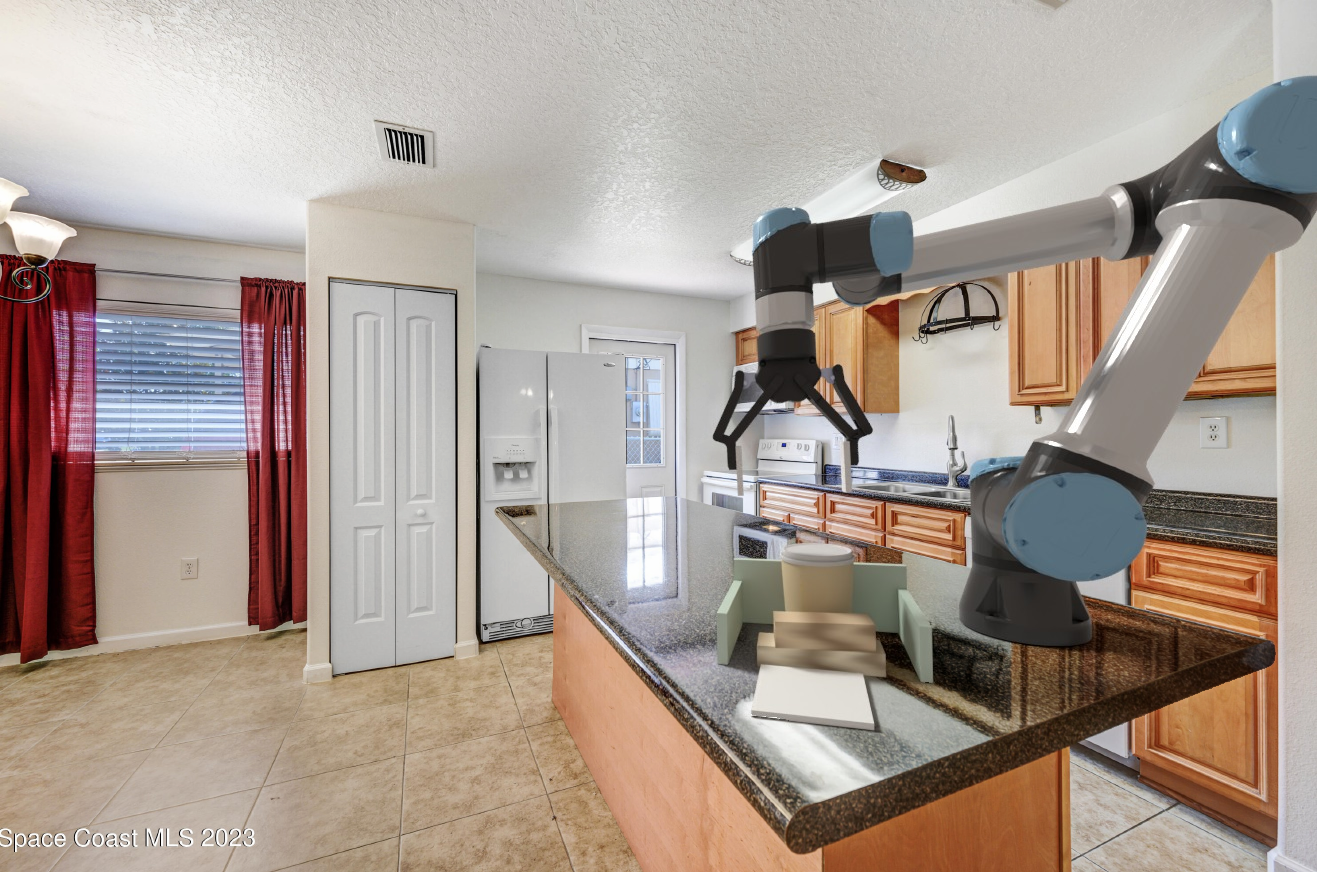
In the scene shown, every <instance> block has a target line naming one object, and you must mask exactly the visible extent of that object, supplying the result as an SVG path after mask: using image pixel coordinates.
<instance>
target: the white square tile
mask: <svg viewBox="0 0 1317 872" xmlns="http://www.w3.org/2000/svg"><path fill="white" fill-rule="evenodd" d="M865 681H866V680H865V675H863V673H853V672H842V671H831V670H819V669H808V668H797V667H785V666H774V665H763V664H761V667H759V672H758V675H757V681H756V684H755V685H756V686H755V691H754V695H753V700H752V704H751V710H750V715H751V714H752V715H756V716H766V717H777V718H780V719H786V720H785V721H788V720H789V722H799V723H805V724H817V725H825V726H833V727H840V728H841V727H842V728H852V729H860V730H866V731H867V730H869V731H875V722H874V716H873V713H872V709H871V704H870V698H869V695H868V690H867V686H866V682H865Z"/></svg>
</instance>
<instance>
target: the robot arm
mask: <svg viewBox="0 0 1317 872" xmlns="http://www.w3.org/2000/svg"><path fill="white" fill-rule="evenodd" d="M1316 213H1317V75H1303V76H1295V77H1291V78H1286V79H1283V80H1280V81H1278V82H1274V83H1272V84H1270V85H1266V86H1265V87H1263V88H1261V89H1259V90H1258V91H1256V92H1254V93H1253V94H1252V95H1251V96H1249V97H1248V98H1246V99H1244V100H1243V101H1240V102H1239V103H1237V104H1236V105H1234V106H1233V107H1232V108H1231V109H1229V110H1228V112H1226V114H1225V115H1224V116H1223V117H1222V119H1221V120H1219V122H1217V123H1216V124H1214V126H1213V127H1211V128H1210V129H1209V130H1208V131H1206V132H1205V133H1204V134H1203V135H1202V136H1200V137H1199V138H1198V139H1197V140H1195V141H1194V142H1193V143H1192V144H1190V145H1189V146H1188V147H1186V149H1185V150H1183V151H1182V152H1181V153H1179V154H1178V155H1177V156H1176V157H1175V158H1174V159H1172V160H1171V161H1170V162H1168V163H1166V164H1165V165H1162V166H1161V167H1159V168H1158V169H1156V170H1153V171H1152V172H1149V173H1148V174H1146V175H1144V176H1141V177H1138V178H1136V179H1133V180H1129V181H1127V182H1126V181H1125V182H1121V183H1117V184H1113V185H1109V186H1108V187H1107V188H1106V189H1105V190H1103V192H1102V193H1100V195H1098V196H1095V197H1092V198H1086V199H1082V200H1078V201H1071V202H1068V203H1064V204H1058V205H1054V206H1050V207H1044V208H1040V209H1035V210H1032V211H1026V212H1021V213H1018V214H1017V213H1016V214H1012V215H1008V216H1003V217H998V218H995V219H994V218H993V219H991V220H985V221H980V222H977V223H972V224H967V225H963V226H958V227H953V228H949V229H948V228H947V229H944V230H940V231H934V232H929V233H924V234H921V235H917V236H914V225H913V219H912V216H911V215H910V213H908V212H907V211H904V210H896V211H895V210H894V211H885V212H882V211H877V212H874V213H872V214H865V215H859V216H854V217H848V218H847V217H846V218H841V219H837V220H836V219H835V220H829V221H826V222H819V223H817V222H812V221H811V218H810V214H809V213H808V211H807V210H806V209H803V208H801V207H797V206H793V207H786V206H785V207H784V206H782V207H777V208H776V207H775V208H774V209H770V210H768V211H765V212H764V213H761V214H760V215H759V216H758V217H757V219H755V221H754V224H753V226H752V250H751V256H752V269H753V282H754V300H755V301H754V304H755V305H754V308H755V327H756V328H755V330H756V331H757V332H758V333H760V334H759V335H758V336H757V338H756V346H757V347H756V348H757V349H756V353H757V370H756V372H749V371H748V372H745V371H743V370H740V369H738V370H737V371H736V372H735V374H734V383H733V384H734V386H733V389H732V392H731V394H730V396H729V398H728V400H727V402H726V405H725V407H724V409H723V412H722V414H721V415H720V418H719V421H718V422H717V425H716V427H715V429H714V432H713V434H712V440H714V441H715V442H716V443H717V442H718V443H720V444H723V445H725V447H726V459H727V460H726V462H727V467H728V471H736V483H737V484H736V485H737V496H738V497H741V496H742V497H743V496H744V475H743V472H744V471H743V454H742V445H737V442H738V441H739V440H740V438H741V437H742V436H743V434H744V433H745V431H746V430H747V429H748V428H749V427H750V425H751V424H752V422H753V421H754V420H755V419H756V417H757V416H758V415H759V413H760V412H761V411H762V410H763V408H765V406H766V405H767V404H768V402H769V401H771V402H773V403H776V404H784V403H787V402H789V403H796V404H797V403H801V402H804V401H805V400H807V401H808V402H809V403H810V404H811V405H813V406H814V407H815V408H816V409H817V411H819V412H820V414H822V416H824V418H825V419H826V420H827V421H828V422H829V423H830V424H831V425H832V426H833V427H834V428H835V429H836V430H837V431H838V432H839V433H840V434H841V435H842V436H843V437H844V438H845V441H843V440H842V441H839V453H840V454H839V455H840V457H839V459H840V476H841V491H842V492H843V493H846V494H847V493H848V494H850V493H851V494H852V493H853V483H852V466H854V467H855V466H858V465H859V462H860V457H859V455H860V453H859V441H860V439H861V438H863V437H867V436H870V435H872V434H873V432H874V429H873V427H872V424H870V421H869V419H868V418H867V416H866V415H865V413H864V411H863V410H862V408H861V406H860V404H859V402H858V401H857V399H856V397H855V396H854V394H853V392H852V391H851V389H850V387H849V386H848V384H847V382H846V379H845V374H844V368H843V366H842V364H839V363H837V364H835V365H833V366H830V367H824V368H823V367H822V368H820V367H819V365H818V362H817V344H816V343H817V342H816V340H817V339H816V333H815V332H814V330H812V329H813V328H814V326H815V325H816V323H815V322H816V321H815V318H816V317H815V305H814V304H815V302H814V290H813V289H814V285H815V284H826V283H827V284H828V283H831V284H832V288H833V290H834V293H835V295H836V296H837V298H838V299H839V301H840V302H842V303H843V304H845V305H847V306H849V307H854V308H861V307H866V306H868V305H871V304H872V303H874V302H876V301H877V300H878V299H880V298H886V297H890V296H891V297H892V296H895V295H899V294H905V293H911V292H916V291H921V290H927V289H931V288H937V287H943V286H948V285H952V284H958V283H964V282H970V281H973V280H980V279H985V278H990V277H996V276H1001V275H1007V274H1011V273H1017V272H1021V271H1028V270H1034V269H1039V268H1043V267H1049V266H1055V265H1060V264H1064V263H1071V262H1077V261H1081V260H1082V261H1083V260H1087V259H1093V258H1098V257H1102V258H1103V260H1104V259H1105V260H1106V261H1107V262H1111V263H1112V262H1113V263H1115V262H1119V261H1124V260H1125V261H1126V260H1130V259H1135V258H1142V257H1149V256H1152V258H1151V259H1150V262H1149V264H1148V265H1147V267H1146V269H1145V271H1144V272H1143V275H1142V276H1141V278H1140V280H1139V281H1138V283H1137V284H1136V286H1135V288H1134V290H1133V292H1132V294H1131V296H1130V298H1129V300H1128V302H1127V303H1126V305H1125V307H1124V308H1123V310H1122V312H1121V313H1120V314H1121V315H1119V317H1118V319H1117V321H1116V323H1115V325H1114V326H1113V328H1112V330H1111V332H1110V334H1109V335H1108V337H1107V339H1106V341H1105V343H1104V345H1103V346H1102V348H1101V350H1100V351H1099V353H1098V355H1097V356H1096V359H1095V360H1094V362H1093V365H1092V366H1091V368H1090V369H1089V371H1088V372H1087V374H1086V377H1085V379H1084V380H1083V382H1082V384H1081V385H1080V387H1079V388H1078V389H1079V390H1078V391H1077V393H1076V395H1075V396H1074V398H1073V400H1072V402H1071V403H1070V405H1069V407H1068V409H1067V411H1066V413H1065V414H1064V416H1063V418H1062V420H1061V421H1060V423H1059V425H1058V427H1057V429H1056V430H1055V431H1054V432H1053V433H1051V434H1048V435H1045V436H1040V437H1037V438H1035V439H1033V440H1032V443H1031V445H1030V446H1029V448H1028V450H1027V451H1026V454H1025V455H1024V456H1023V455H1021V456H1020V455H1017V456H1001V457H989V458H982V459H979V460H977V461H975V462H973V463H972V465H971V466H970V472H969V473H970V474H969V479H968V483H967V484H968V486H969V496H970V497H969V498H970V527H971V528H970V534H971V537H970V538H971V569H970V571H969V574H968V577H967V580H966V583H965V585H964V588H963V592H962V593H961V594H962V595H961V597H960V600H959V604H958V605H959V606H958V610H959V611H958V613H959V617H958V618H959V621H960V622H961V624H963V625H964V626H966V627H967V628H969V629H971V630H973V631H975V632H977V633H980V634H983V635H986V636H989V637H992V638H996V639H1000V640H1005V641H1009V642H1015V643H1019V644H1020V643H1021V644H1028V645H1033V646H1034V645H1037V646H1047V647H1050V646H1051V647H1067V646H1068V647H1069V646H1070V647H1071V646H1078V645H1083V644H1087V643H1089V642H1090V641H1092V639H1093V622H1092V617H1091V615H1090V612H1089V610H1088V608H1087V605H1086V603H1085V601H1084V599H1083V596H1082V593H1081V591H1080V588H1079V585H1078V582H1079V583H1080V582H1093V581H1099V580H1102V579H1105V578H1106V579H1107V578H1108V577H1112V576H1113V575H1116V574H1117V573H1120V572H1121V571H1122V570H1123V571H1124V569H1126V568H1127V567H1129V566H1130V565H1132V563H1133V562H1134V561H1135V560H1136V558H1138V556H1139V555H1140V553H1141V551H1142V550H1143V548H1144V546H1145V542H1146V539H1147V535H1148V534H1147V533H1148V526H1147V525H1148V524H1147V520H1146V519H1145V514H1144V512H1143V508H1142V507H1143V506H1144V504H1145V503H1146V501H1147V499H1148V497H1149V495H1150V494H1151V492H1152V490H1153V489H1154V486H1155V485H1156V483H1155V481H1154V479H1153V477H1152V475H1151V474H1150V471H1149V470H1148V467H1147V464H1148V460H1149V459H1150V457H1151V455H1152V454H1153V453H1154V451H1155V449H1156V447H1157V446H1158V443H1159V442H1160V440H1161V439H1162V437H1163V435H1164V433H1165V432H1166V430H1167V428H1168V427H1169V425H1170V423H1171V421H1172V419H1173V418H1174V416H1175V414H1176V413H1177V411H1178V409H1179V408H1180V406H1181V404H1182V403H1183V401H1184V399H1185V398H1186V396H1187V394H1188V393H1189V391H1190V389H1191V388H1192V386H1193V384H1194V383H1195V380H1196V379H1197V377H1198V376H1199V373H1200V372H1201V370H1202V368H1203V367H1204V365H1205V364H1206V361H1207V360H1208V358H1209V357H1210V354H1211V353H1212V352H1213V350H1214V348H1215V346H1216V344H1217V342H1218V341H1219V339H1220V337H1222V335H1223V332H1224V331H1225V329H1226V327H1227V325H1228V324H1229V322H1230V321H1231V319H1232V317H1233V315H1234V314H1235V312H1236V310H1237V309H1238V307H1239V306H1240V303H1241V301H1242V300H1243V298H1244V296H1246V293H1247V292H1248V289H1249V288H1250V286H1252V283H1253V281H1254V280H1255V278H1256V276H1257V274H1258V273H1259V271H1260V269H1261V268H1262V266H1263V264H1264V263H1265V261H1266V259H1267V257H1268V256H1269V255H1273V254H1275V253H1278V252H1281V251H1284V250H1286V249H1289V248H1290V247H1292V246H1294V245H1295V244H1297V243H1298V242H1299V241H1300V239H1301V238H1302V236H1303V234H1304V232H1305V231H1306V230H1307V228H1308V226H1309V224H1310V223H1311V222H1312V220H1313V218H1314V216H1315V215H1316ZM821 378H823V379H825V381H826V383H827V384H829V385H830V384H831V385H832V388H833V389H834V392H835V393H836V394H837V397H838V398H839V400H840V401H841V403H842V405H843V407H844V408H845V410H846V412H847V414H848V415H849V417H850V419H851V420H852V422H853V424H854V425H855V427H856V428H853V427H852V425H850V424H849V423H848V422H847V421H846V419H845V418H844V417H843V416H841V414H840V413H839V412H838V411H837V410H836V409H835V408H834V407H833V406H832V405H831V404H830V403H829V402H828V400H826V399H825V397H823V395H822V393H820V392H819V391H818V390H817V389H816V388H815V387H816V385H817V384H818V383H819V381H820V380H821ZM752 382H755V383H756V384H757V386H758V387H759V389H761V391H762V393H761V395H760V396H759V397H758V398H757V400H756V401H755V402H754V403H753V404H752V406H751V408H750V409H749V410H748V411H747V412H746V414H745V415H744V416H743V418H742V419H741V420H740V422H739V423H738V424H737V425H736V427H735V428H734V429H733V430H732V431H731V433H730V434H729V435H728V434H725V433H726V430H727V428H728V426H729V424H730V421H731V419H732V417H733V415H734V412H735V410H736V408H737V406H738V404H739V401H740V399H741V398H742V394H743V391H744V389H748V388H750V385H751V383H752Z"/></svg>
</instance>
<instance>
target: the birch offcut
mask: <svg viewBox="0 0 1317 872" xmlns="http://www.w3.org/2000/svg"><path fill="white" fill-rule="evenodd" d="M886 655H887V654H886V652H885V650H884V647H883V645H882V643H881V640H880V639H876V652H868V651H842V650H816V649H790V648H775V641H774V632H758V636H757V643H756V662H757V663H756V665H757V666H756V667H757V668H760V667H761V664H763V665H774V666H785V667H797V668H808V669H819V670H831V671H842V672H853V673H863V676H864V677H865V676H867V677H879V678H881V677H882V678H887V665H886V664H887V663H886V662H887V661H886V657H887V656H886Z"/></svg>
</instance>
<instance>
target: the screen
mask: <svg viewBox="0 0 1317 872" xmlns="http://www.w3.org/2000/svg"><path fill="white" fill-rule="evenodd" d="M853 564H854V567H853V595H852V613H855V614H868V615H869V616H870V618H871V619H872V621H873V622H874V624H875V629H876V632H882V633H894V634H895V633H896V634H898V636H899V637H900V640H901V642H902V644H903V646H904V649H905V651H906V654H907V655H908V657H909V659H910V661H911V664H912V666H913V668H914V671H915V672H916V675H917V677H918V679H919V681H920V683H925V682H929V683H928V684H934V671H933V668H934V667H933V666H934V665H933V662H934V661H933V628H932V627H933V626H932V625H931V624H930V622H929V620H928V619H927V618H926V616H925V614H924V613H923V611H922V609H920V607H919V605H918V603H917V602H916V600H915V599H914V597H913V596H912V594H911V593H910V591H909V590H908V581H907V580H908V577H907V576H908V574H907V573H908V572H907V571H908V570H907V565H906V563H905V564H903V563H881V562H858V561H857V562H855V561H854V562H853ZM773 611H784V612H786V611H785V600H784V588H783V576H782V560H781V559H775V558H774V559H773V558H771V559H770V558H747V557H746V558H745V557H743V558H742V557H734V558H733V581H732V584H731V585H730V587H729V588H728V591H727V592H726V594H725V597H724V598H723V600H722V602H721V604H720V605H719V608H718V609H717V612H716V640H717V642H716V646H717V648H716V649H717V650H716V651H717V654H716V655H717V665H726V666H727V665H729V663H730V660H731V658H732V654H733V652H734V649H735V646H736V643H737V640H738V637H739V635H740V632H741V629H742V627H743V623H747V624H748V623H749V624H764V625H774V622H773Z"/></svg>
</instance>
